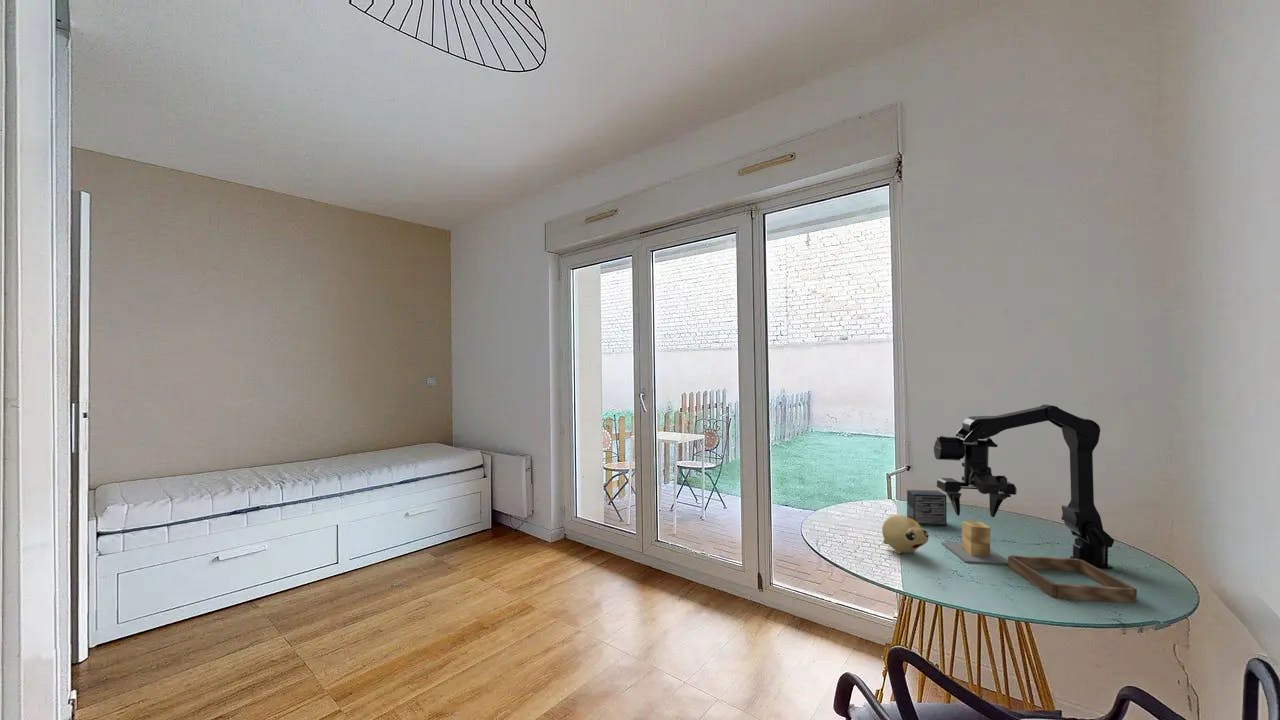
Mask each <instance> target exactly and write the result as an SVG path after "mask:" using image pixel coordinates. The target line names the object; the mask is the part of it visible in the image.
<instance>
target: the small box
mask: <svg viewBox="0 0 1280 720" xmlns="http://www.w3.org/2000/svg"><path fill="white" fill-rule="evenodd" d="M947 497H948V495H947V494H945V492H944V493H943V491H940V490H926V489H925V490H924V489H922V490H921V489H907V490H906V517H907V518H910V519H913V520H915V521H916V522H917V523H918V524H919V525H920V526H934V527H935V526H936V527H941V526H942V527H946V526H948V524H947Z"/></svg>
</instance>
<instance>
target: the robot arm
mask: <svg viewBox="0 0 1280 720" xmlns="http://www.w3.org/2000/svg"><path fill="white" fill-rule="evenodd" d="M1043 422H1050V423H1051V424H1053V425H1054V426H1056V427H1058V428H1060V429H1061V432H1062V436H1063V439H1064V441H1065V443H1066V445H1067V447H1068V449H1069V465H1070V466H1069V467H1070V468H1069V470H1070V473H1069V474H1070V501H1069V503H1068V504H1067V505H1061V512H1062V516H1061V518H1060V519H1061V520H1062V521H1063V523H1064V525H1065V526H1066V527H1067V529H1069V530H1070V533H1071V535H1072V536H1075V538H1074V543H1073V544H1072V556H1071V555H1070V558H1073V559H1079V560H1084V561H1085V562H1087V563H1089V564H1091V565H1093V566H1095V567H1097V568H1098V569H1110V570H1111V569H1113V566H1112V565H1110V564H1109V548H1112V547H1113V545H1114V542H1115V539H1114V538H1113V537H1112V536H1111V535H1109V534H1108V533H1107V532H1106V531H1105V530H1104V526H1103V522H1102V521H1103V520H1102V518H1101V515H1100V512H1099V511H1098V510H1097V507H1096V505H1095V498H1094V497H1095V496H1094V495H1095V492H1094V490H1095V489H1094V461H1093V460H1094V459H1093V458H1094V457H1093V454H1094V453H1093V452H1094V450H1095V448H1096V447H1097V445H1098V444H1099V441H1100V437H1101V436H1100V435H1101V426H1100V425H1099V424H1098V423H1097V421H1094V420H1093V419H1089V418H1084V417H1079V416H1076V415H1074V414H1072V413H1070V412H1068V411H1065V410H1063V409H1062V408H1059V407H1058V406H1056V405H1051V404H1042V405H1040V406H1035V407H1030V408H1027V409H1021V410H1017V411H1013V412H1007V413H1003V414H998V415H976V416H968V417H966V418H964V420H963V422H962V425H961V427H960V428H959V429H958V431H956V433H955V434H954V435H953V436H943V435H937V436H936V440H935V442H934V445H933V454H934V458H935V459H936V460H940V461H942V460H943V461H956V462H958V461H961V459H964V460H963V461H964V462H962V463H961V467H963V468H964V469H963V476H961V481H958V480H957V479H954V478H951V477H939V478H938V479H937V481H936V487H937V488H938V489H940V490H941V491H942V492H944V493H946V495H947V497H948V499H949V500H950V503H951V505H952V508H953V510H954V513H955V515H956V516H957V517H959V516H960V514H961V500H960V498H961V496H962V493H961V492H960V491H961V489H963V490H966V489H967V490H978V493H981V494H982V495H987V494H989V495H988V496H989V500H988V501H989V513H990V517H992V518H995V516H996V515H997V513H998V510H999V508H1000V506H1001V504H1002V502H1004V500H1006V499H1007V498H1011V497H1012V495H1017V487H1016V484H1014V483H1012V482H1011V481H1008V478H1007V477H1006V476H1005V475H993V473H992V468H991V466H989V455H990V454H989V451H990V450H989V448H998V447H999V446H998V444H997V443H995V442H994V441H993V439H992V437H994V436H996V435H998V434H1000V433H1001V432H1004V431H1006V430H1010V429H1011V430H1012V429H1014V428H1019V427H1025V426H1029V425H1034V424H1038V423H1043Z"/></svg>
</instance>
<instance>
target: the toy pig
mask: <svg viewBox="0 0 1280 720" xmlns="http://www.w3.org/2000/svg"><path fill="white" fill-rule="evenodd" d="M881 531H882V532H881V533H882V537H883V541H882V543H883V544H884V545H888V546H890V547H891V549H893V550H894V551H895V554H897V555H901V554H902V553H905V554H908V553H912V554H914V553H916V550H918V549H919V548H920V547H922V546H924V545H926V544H927V543H928V542H929V537H930V536H929V533H928V531H927V530H925V529H924V528H922V529H920V528H919V527H918V526H917V525H916V524H915V523H914V522H912V521H911V520H910V519H909V518H907V515H904V514H903V513H896V514H892V515H890V516H888V517H887V518H886V519H885V521H884V522H883V524H882V527H881Z"/></svg>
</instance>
